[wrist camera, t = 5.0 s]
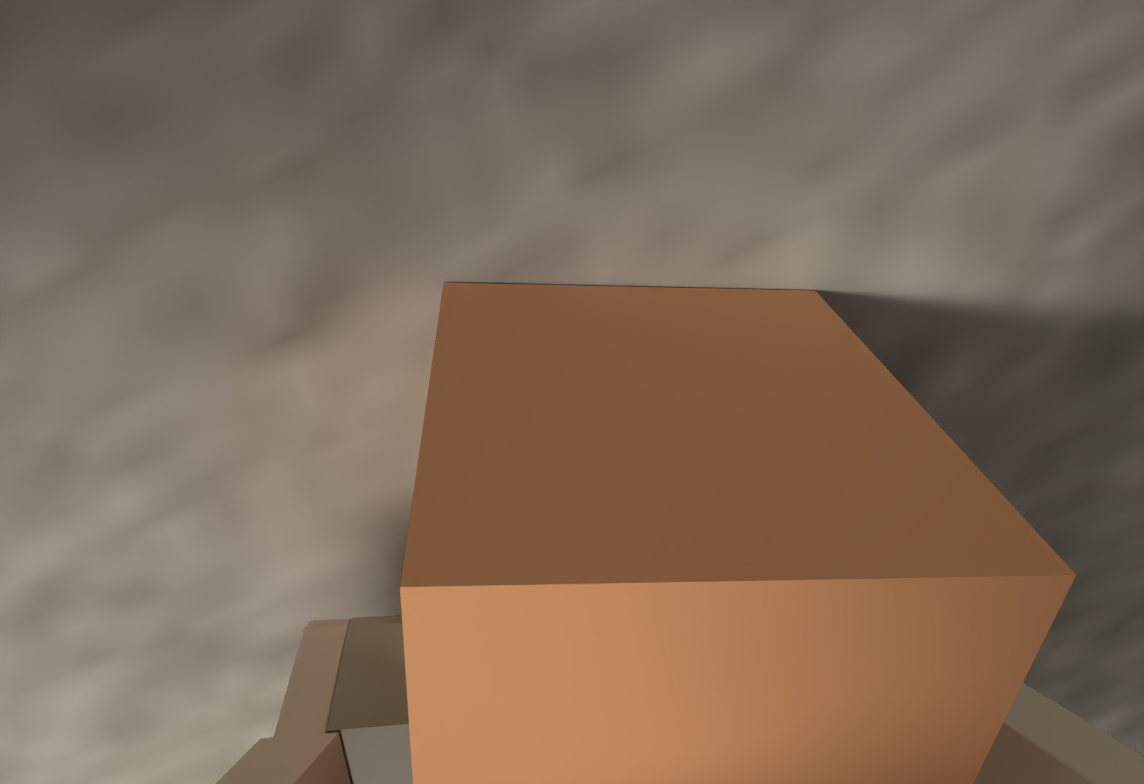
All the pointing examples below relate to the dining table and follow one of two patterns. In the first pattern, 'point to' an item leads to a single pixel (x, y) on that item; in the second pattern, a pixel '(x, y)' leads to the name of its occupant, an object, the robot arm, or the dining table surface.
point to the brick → (700, 551)
